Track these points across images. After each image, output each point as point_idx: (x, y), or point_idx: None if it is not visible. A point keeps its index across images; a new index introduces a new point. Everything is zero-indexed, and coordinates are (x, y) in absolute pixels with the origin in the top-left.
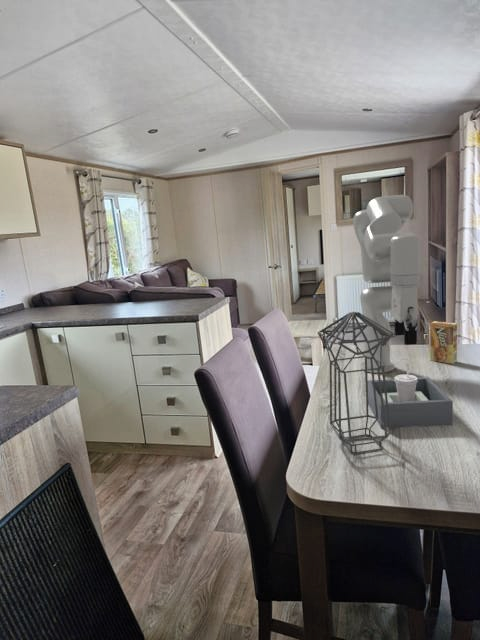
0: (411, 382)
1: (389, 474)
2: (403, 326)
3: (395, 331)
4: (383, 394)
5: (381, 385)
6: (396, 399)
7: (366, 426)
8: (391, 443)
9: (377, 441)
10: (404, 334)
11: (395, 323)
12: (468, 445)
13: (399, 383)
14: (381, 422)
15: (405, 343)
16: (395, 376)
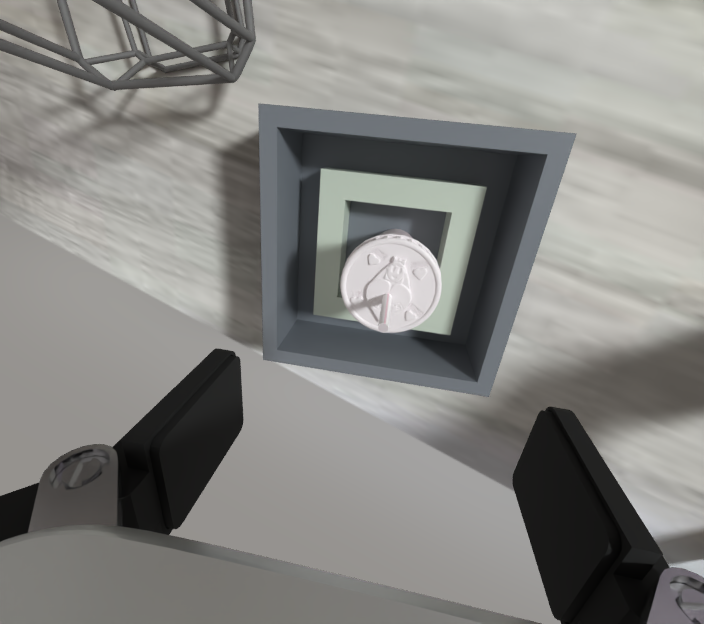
0: (341, 289)
1: (27, 42)
2: (546, 548)
3: (567, 437)
4: (467, 195)
5: (523, 207)
6: (443, 239)
7: (233, 31)
8: (193, 114)
9: (129, 41)
10: (165, 406)
11: (618, 534)
12: (188, 304)
13: (363, 243)
14: (181, 77)
15: (213, 355)
16: (421, 251)
